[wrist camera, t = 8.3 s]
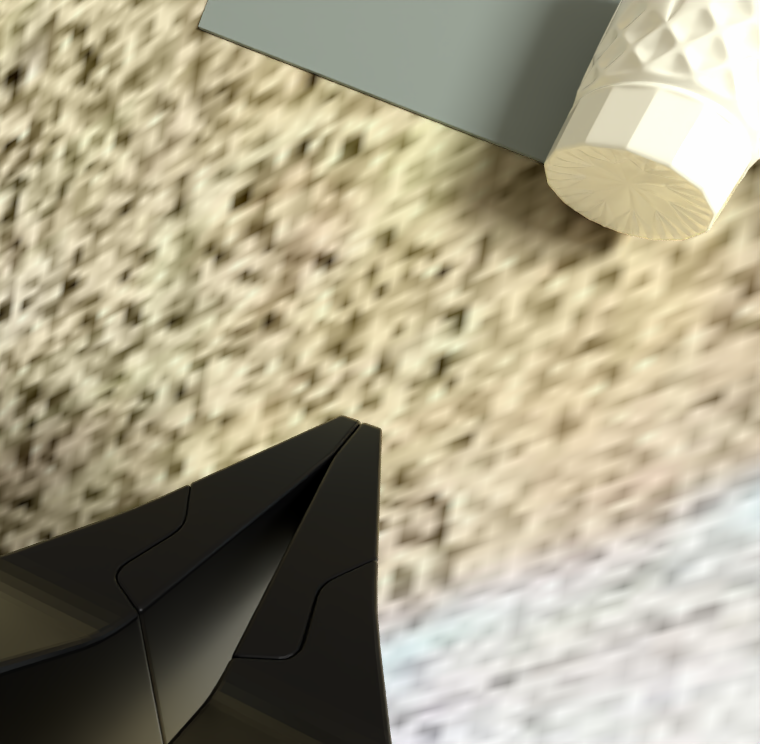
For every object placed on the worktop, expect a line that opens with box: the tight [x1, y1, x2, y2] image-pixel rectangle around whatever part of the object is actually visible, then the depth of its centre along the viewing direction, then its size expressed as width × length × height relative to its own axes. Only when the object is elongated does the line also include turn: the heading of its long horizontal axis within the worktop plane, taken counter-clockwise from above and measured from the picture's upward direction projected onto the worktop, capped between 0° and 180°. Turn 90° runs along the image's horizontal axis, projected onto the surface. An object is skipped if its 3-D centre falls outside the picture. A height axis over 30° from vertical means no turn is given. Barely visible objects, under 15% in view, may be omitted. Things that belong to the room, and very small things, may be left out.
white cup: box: [544, 0, 760, 240], centre depth 19 cm, size 8×8×10 cm
